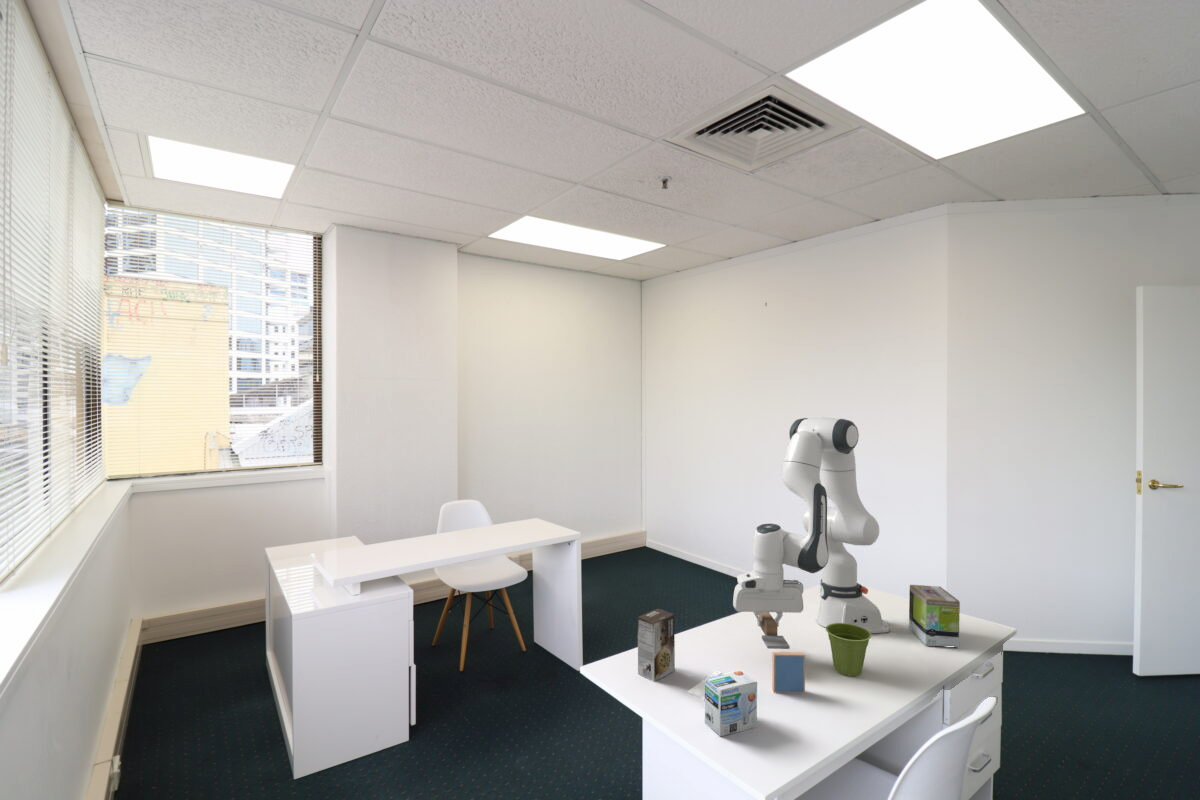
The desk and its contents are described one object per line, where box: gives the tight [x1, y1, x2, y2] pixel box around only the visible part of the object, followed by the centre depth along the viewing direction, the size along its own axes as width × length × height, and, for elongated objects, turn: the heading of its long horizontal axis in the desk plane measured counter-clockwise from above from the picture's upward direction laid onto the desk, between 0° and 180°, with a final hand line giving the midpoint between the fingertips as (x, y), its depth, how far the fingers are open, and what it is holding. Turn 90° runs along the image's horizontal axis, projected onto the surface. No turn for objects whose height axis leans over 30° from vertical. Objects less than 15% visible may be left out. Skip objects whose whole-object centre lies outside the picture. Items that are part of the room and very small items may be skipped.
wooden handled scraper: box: [758, 612, 791, 650], centre depth 170 cm, size 17×6×4 cm, turn 178°
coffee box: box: [637, 608, 676, 682], centre depth 162 cm, size 9×6×16 cm
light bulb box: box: [704, 669, 758, 737], centre depth 137 cm, size 11×7×11 cm, turn 114°
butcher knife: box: [686, 670, 723, 700], centre depth 155 cm, size 5×15×1 cm, turn 138°
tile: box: [771, 651, 806, 694], centre depth 152 cm, size 8×2×10 cm, turn 88°
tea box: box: [908, 584, 961, 648], centre depth 186 cm, size 15×10×15 cm
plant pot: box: [825, 623, 873, 677], centre depth 164 cm, size 12×12×11 cm
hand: (767, 625), depth 174 cm, fingers closed on wooden handled scraper, 3 cm apart
